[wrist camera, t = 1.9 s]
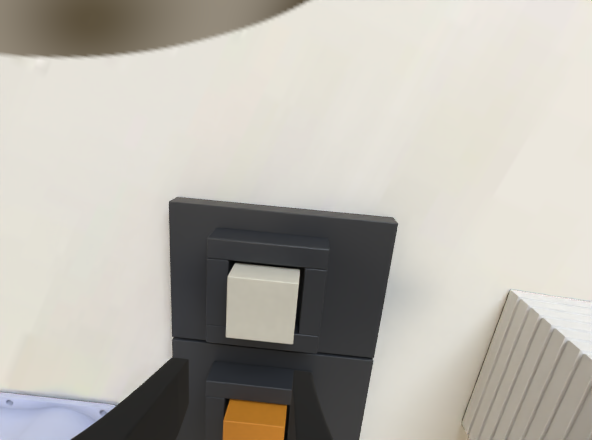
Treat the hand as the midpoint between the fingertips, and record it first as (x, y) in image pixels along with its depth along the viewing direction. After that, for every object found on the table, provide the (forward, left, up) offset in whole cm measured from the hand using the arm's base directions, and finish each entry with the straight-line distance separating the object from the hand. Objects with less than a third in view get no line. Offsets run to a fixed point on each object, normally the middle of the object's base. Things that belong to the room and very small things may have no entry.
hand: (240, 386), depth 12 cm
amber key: (0, -9, -7) cm, 11 cm away
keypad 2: (0, 0, -9) cm, 9 cm away
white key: (0, 0, -7) cm, 7 cm away
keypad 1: (0, -9, -9) cm, 13 cm away
